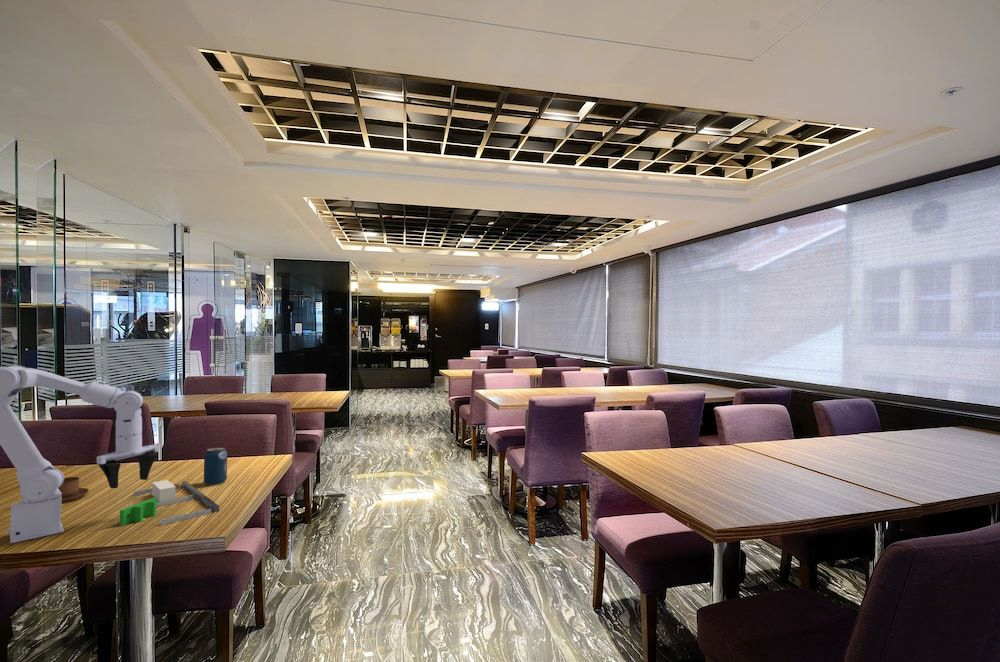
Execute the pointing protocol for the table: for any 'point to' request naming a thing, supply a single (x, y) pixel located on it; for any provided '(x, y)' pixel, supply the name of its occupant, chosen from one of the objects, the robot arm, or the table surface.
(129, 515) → the pipe clamp
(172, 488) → the seated block
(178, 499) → the grey pronged frame
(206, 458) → the soda can
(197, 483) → the table surface
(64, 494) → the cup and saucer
